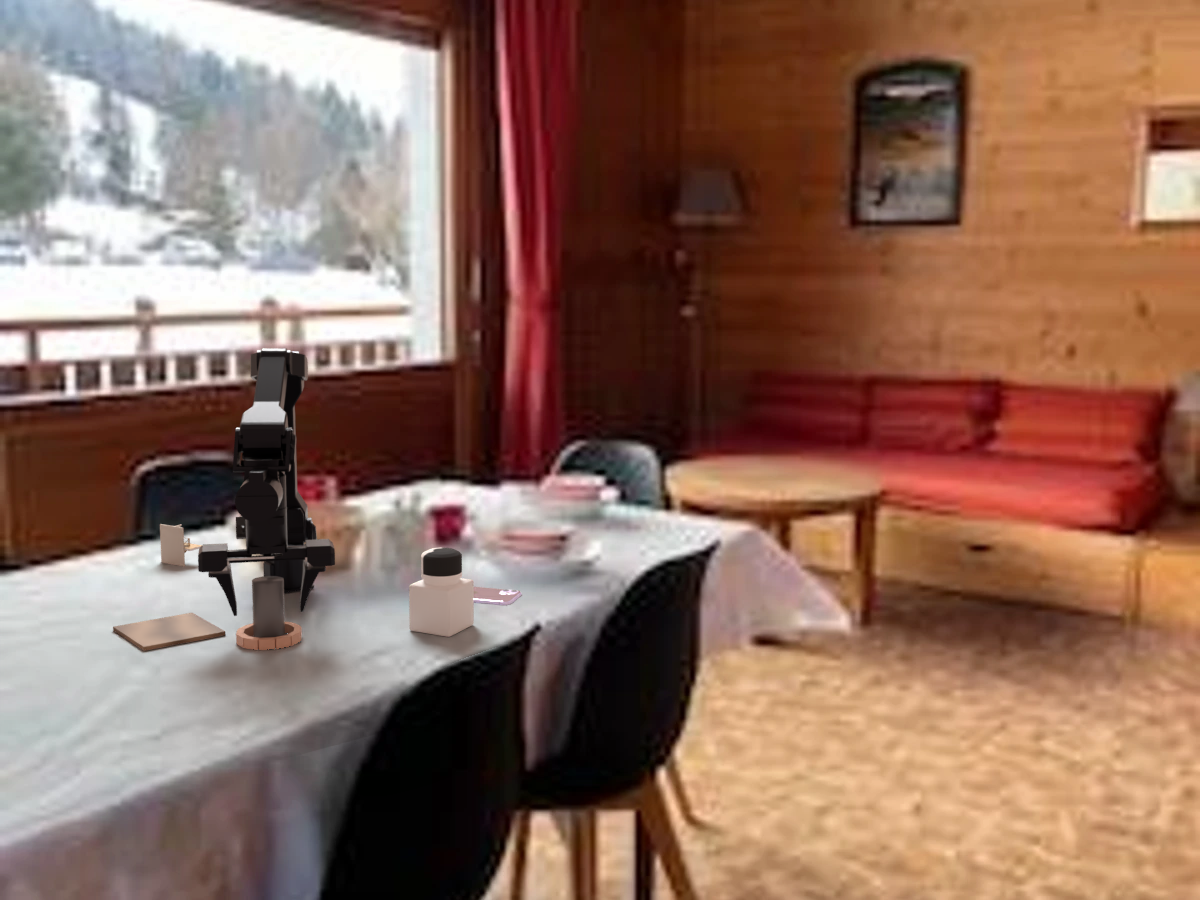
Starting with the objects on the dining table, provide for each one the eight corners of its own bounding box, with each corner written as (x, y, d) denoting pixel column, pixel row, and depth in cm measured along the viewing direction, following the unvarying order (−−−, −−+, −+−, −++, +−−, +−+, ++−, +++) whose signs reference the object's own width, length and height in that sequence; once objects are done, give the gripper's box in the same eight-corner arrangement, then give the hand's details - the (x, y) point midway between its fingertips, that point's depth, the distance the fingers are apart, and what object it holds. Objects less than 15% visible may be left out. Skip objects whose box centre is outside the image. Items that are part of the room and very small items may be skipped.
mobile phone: (439, 582, 215) (523, 589, 211) (439, 587, 215) (523, 595, 211) (421, 593, 208) (508, 601, 204) (421, 599, 208) (508, 607, 204)
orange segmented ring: (283, 627, 190) (283, 617, 190) (312, 641, 184) (312, 631, 183) (226, 638, 185) (226, 628, 184) (254, 654, 178) (253, 643, 178)
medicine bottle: (474, 625, 193) (474, 547, 191) (449, 637, 187) (449, 558, 185) (434, 618, 196) (433, 542, 194) (408, 631, 190) (407, 552, 188)
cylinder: (276, 633, 187) (275, 574, 186) (290, 641, 184) (289, 580, 182) (248, 639, 184) (246, 579, 183) (262, 647, 181) (260, 585, 180)
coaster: (192, 616, 195) (192, 612, 195) (225, 635, 186) (225, 631, 186) (113, 630, 187) (113, 626, 187) (143, 651, 178) (143, 646, 178)
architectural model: (175, 560, 230) (173, 520, 229) (203, 565, 227) (202, 525, 226) (160, 564, 227) (158, 524, 226) (189, 570, 224) (187, 528, 223)
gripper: (329, 493, 191) (331, 594, 194) (199, 498, 186) (202, 601, 189) (334, 509, 181) (336, 615, 183) (196, 514, 176) (200, 623, 178)
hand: (268, 613), depth 184 cm, fingers open, 9 cm apart
